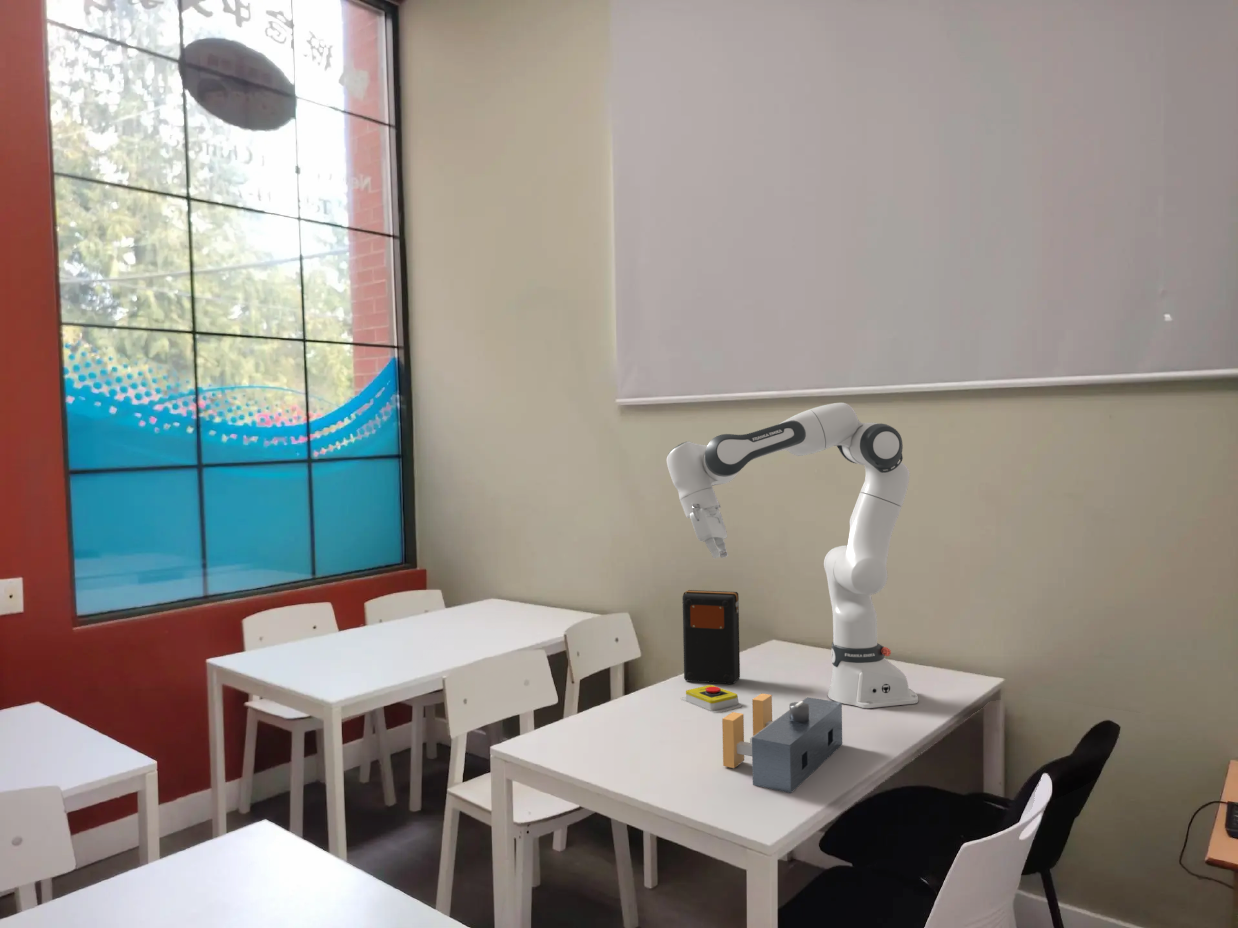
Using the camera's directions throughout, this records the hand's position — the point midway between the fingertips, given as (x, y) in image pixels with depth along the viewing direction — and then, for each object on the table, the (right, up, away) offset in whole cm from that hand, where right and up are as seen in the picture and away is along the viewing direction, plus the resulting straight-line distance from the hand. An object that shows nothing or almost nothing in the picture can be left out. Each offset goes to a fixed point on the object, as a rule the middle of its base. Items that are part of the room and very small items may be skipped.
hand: (721, 557), depth 216 cm
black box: (+1, -38, +32) cm, 50 cm away
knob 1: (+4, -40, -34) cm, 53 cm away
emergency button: (-1, -40, +12) cm, 41 cm away
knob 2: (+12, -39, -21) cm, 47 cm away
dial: (+13, -31, -31) cm, 46 cm away
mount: (+13, -40, -31) cm, 52 cm away
